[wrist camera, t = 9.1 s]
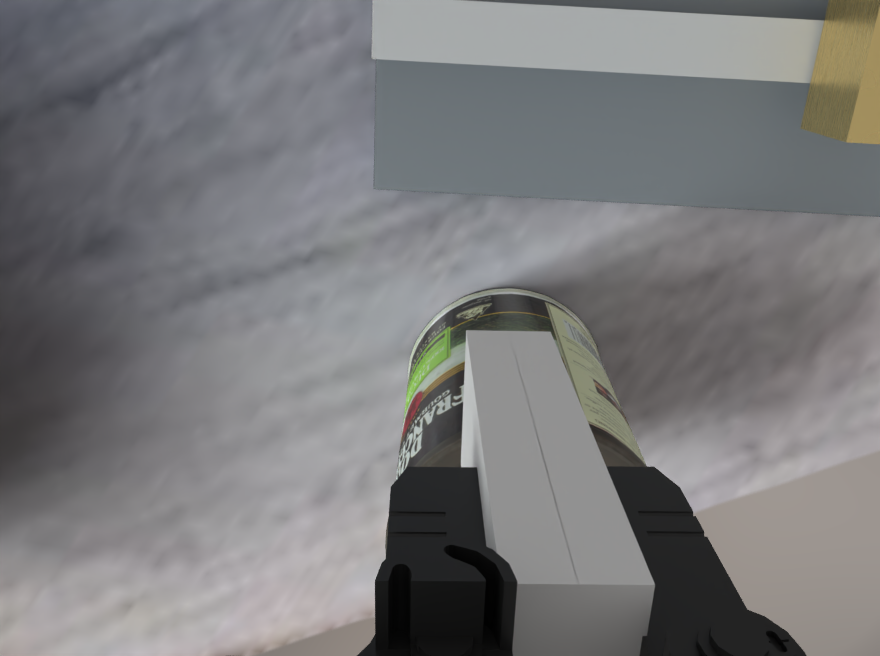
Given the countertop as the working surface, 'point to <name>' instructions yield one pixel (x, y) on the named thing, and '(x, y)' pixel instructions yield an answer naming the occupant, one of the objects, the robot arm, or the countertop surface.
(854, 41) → the pointer
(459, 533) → the robot arm
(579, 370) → the coffee can
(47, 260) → the countertop surface
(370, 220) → the countertop surface
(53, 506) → the countertop surface
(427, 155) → the gauge board
